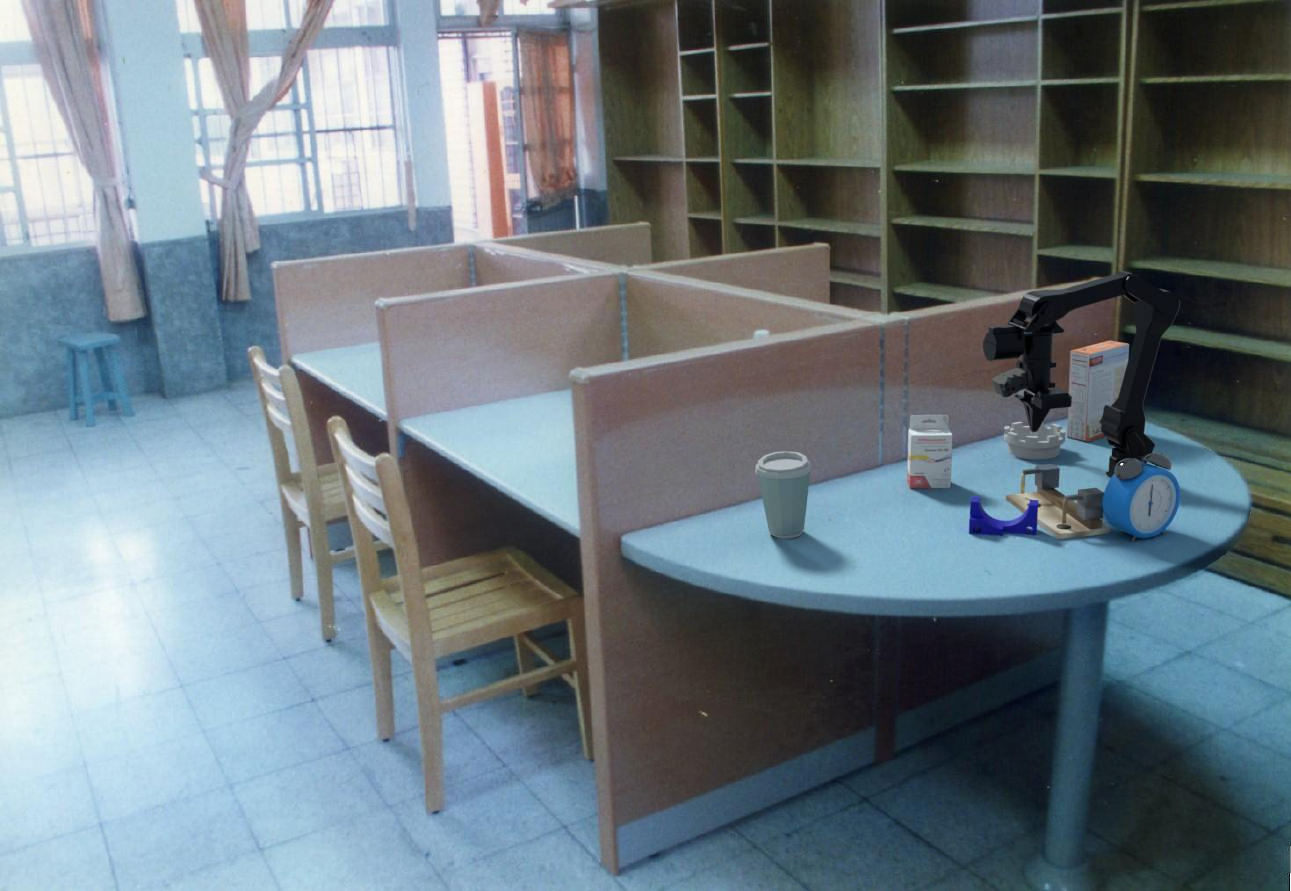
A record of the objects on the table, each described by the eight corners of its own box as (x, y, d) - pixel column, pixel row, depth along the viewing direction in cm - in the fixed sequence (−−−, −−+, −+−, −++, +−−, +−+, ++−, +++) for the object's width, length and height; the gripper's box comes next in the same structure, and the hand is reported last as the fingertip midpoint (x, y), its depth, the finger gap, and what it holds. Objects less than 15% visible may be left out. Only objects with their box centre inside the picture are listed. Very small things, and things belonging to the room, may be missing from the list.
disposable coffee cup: (807, 545, 220) (806, 468, 216) (751, 541, 224) (748, 466, 219) (816, 524, 230) (816, 451, 226) (762, 521, 233) (760, 449, 229)
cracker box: (1103, 425, 282) (1108, 339, 275) (1125, 430, 277) (1131, 343, 270) (1064, 437, 274) (1069, 349, 268) (1086, 443, 270) (1091, 353, 263)
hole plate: (1053, 494, 239) (1054, 459, 237) (1109, 533, 218) (1112, 495, 216) (1005, 499, 238) (1007, 464, 235) (1058, 539, 217) (1060, 500, 215)
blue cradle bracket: (968, 534, 222) (969, 504, 220) (970, 526, 226) (971, 496, 224) (1036, 539, 218) (1037, 508, 216) (1036, 530, 222) (1038, 500, 220)
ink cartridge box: (909, 489, 247) (910, 421, 242) (906, 481, 251) (907, 414, 247) (951, 488, 246) (953, 420, 241) (948, 480, 250) (949, 413, 246)
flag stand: (1072, 459, 259) (1080, 324, 250) (1012, 462, 260) (1017, 327, 251) (1053, 442, 272) (1060, 312, 263) (996, 444, 272) (1000, 315, 263)
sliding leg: (1051, 487, 238) (1052, 463, 236) (1058, 492, 235) (1059, 468, 233) (1017, 491, 237) (1018, 467, 235) (1024, 495, 234) (1025, 471, 233)
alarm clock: (1123, 546, 212) (1129, 466, 208) (1098, 535, 218) (1103, 457, 213) (1178, 532, 217) (1185, 454, 212) (1152, 522, 222) (1158, 445, 218)
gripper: (978, 349, 242) (976, 423, 247) (1019, 370, 225) (1016, 448, 229) (1030, 345, 244) (1027, 418, 248) (1075, 365, 226) (1071, 443, 231)
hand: (1033, 431), depth 239 cm, fingers closed
